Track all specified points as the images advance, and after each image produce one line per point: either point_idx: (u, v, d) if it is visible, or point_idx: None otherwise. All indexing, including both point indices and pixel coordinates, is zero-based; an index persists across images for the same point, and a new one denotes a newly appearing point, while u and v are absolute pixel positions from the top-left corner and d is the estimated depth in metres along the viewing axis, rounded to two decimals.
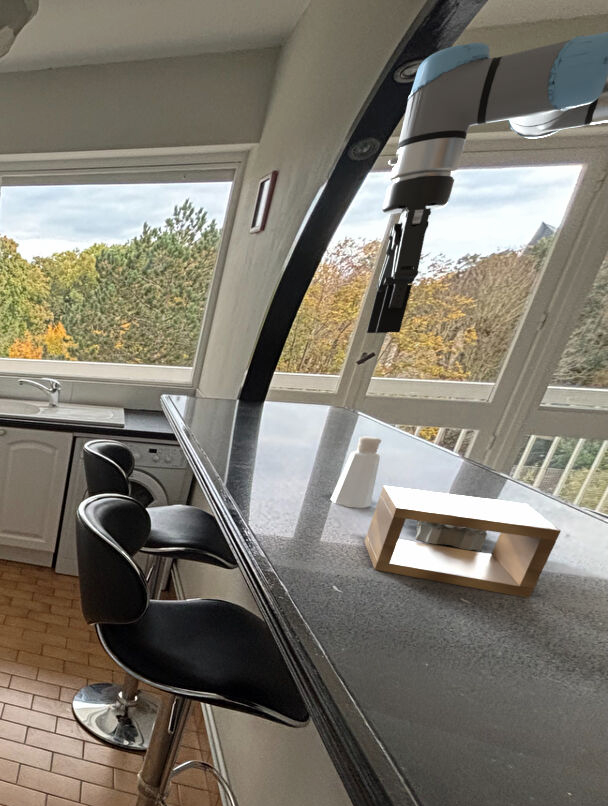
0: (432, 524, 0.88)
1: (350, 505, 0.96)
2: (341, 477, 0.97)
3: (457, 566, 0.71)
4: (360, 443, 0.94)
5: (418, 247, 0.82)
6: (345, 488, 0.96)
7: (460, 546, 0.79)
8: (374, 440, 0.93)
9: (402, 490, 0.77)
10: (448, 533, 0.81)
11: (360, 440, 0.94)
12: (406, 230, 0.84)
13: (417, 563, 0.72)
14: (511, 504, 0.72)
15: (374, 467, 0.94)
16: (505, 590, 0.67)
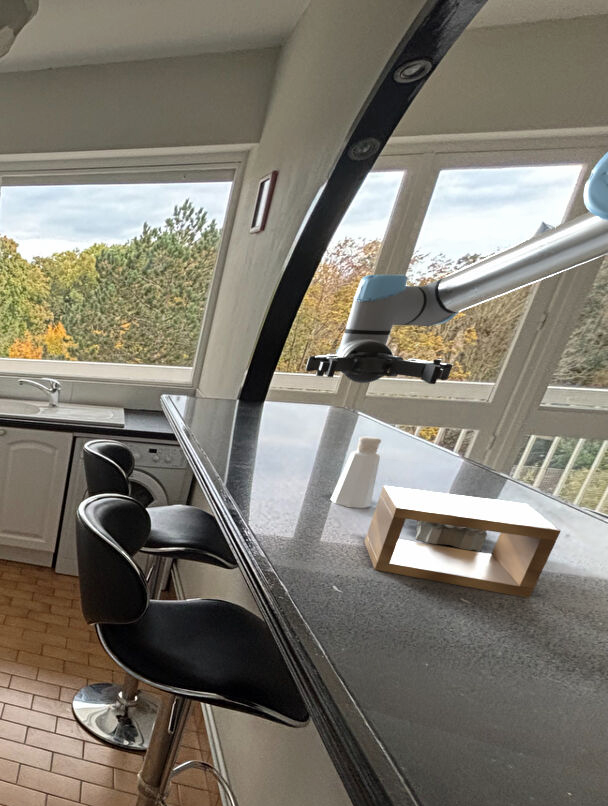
0: (432, 524, 0.88)
1: (350, 505, 0.96)
2: (341, 477, 0.97)
3: (457, 566, 0.71)
4: (360, 443, 0.94)
5: None
6: (345, 488, 0.96)
7: (460, 546, 0.79)
8: (374, 440, 0.93)
9: (402, 490, 0.77)
10: (448, 533, 0.81)
11: (360, 440, 0.94)
12: None
13: (417, 563, 0.72)
14: (511, 504, 0.72)
15: (374, 467, 0.94)
16: (505, 590, 0.67)
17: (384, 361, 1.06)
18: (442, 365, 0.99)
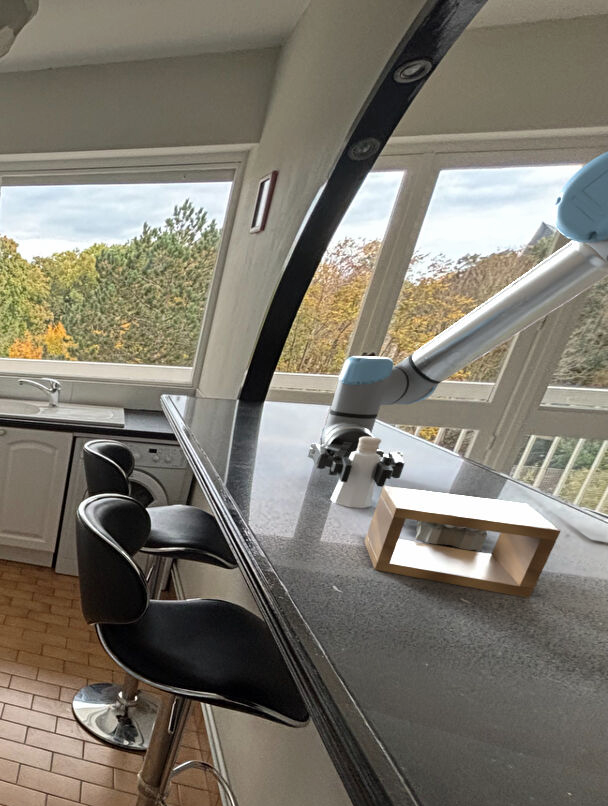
0: (432, 524, 0.88)
1: (350, 505, 0.96)
2: None
3: (457, 566, 0.71)
4: (360, 443, 0.94)
5: (317, 451, 1.03)
6: (345, 488, 0.96)
7: (460, 546, 0.79)
8: (374, 440, 0.93)
9: (402, 490, 0.77)
10: (448, 533, 0.81)
11: (360, 440, 0.94)
12: (313, 458, 1.06)
13: (417, 563, 0.72)
14: (511, 504, 0.72)
15: (374, 467, 0.94)
16: (505, 590, 0.67)
17: None
18: (394, 462, 0.95)
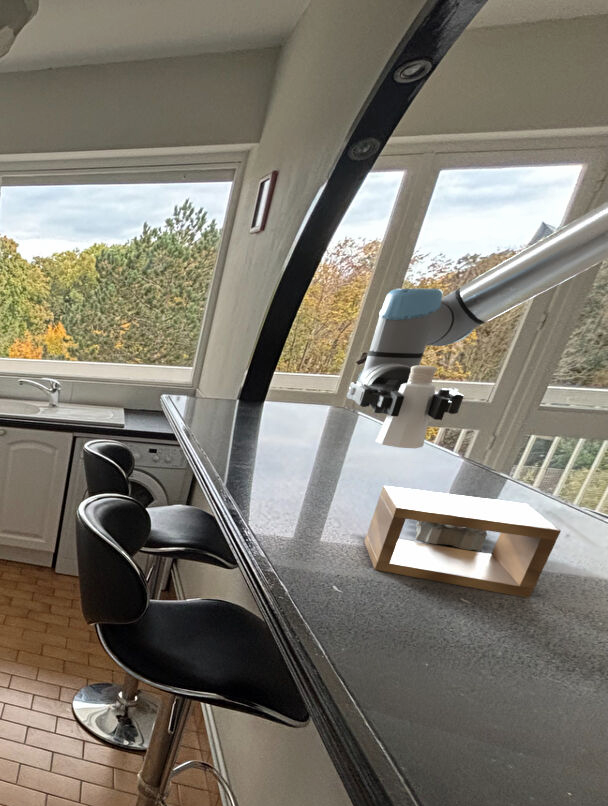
0: (432, 524, 0.88)
1: (400, 445, 0.84)
2: None
3: (457, 566, 0.71)
4: (412, 373, 0.82)
5: (359, 389, 0.91)
6: (394, 426, 0.84)
7: (460, 546, 0.79)
8: (429, 368, 0.81)
9: (402, 490, 0.77)
10: (448, 533, 0.81)
11: (412, 369, 0.82)
12: (353, 398, 0.94)
13: (417, 563, 0.72)
14: (511, 504, 0.72)
15: (429, 400, 0.82)
16: (505, 590, 0.67)
17: None
18: (451, 396, 0.83)
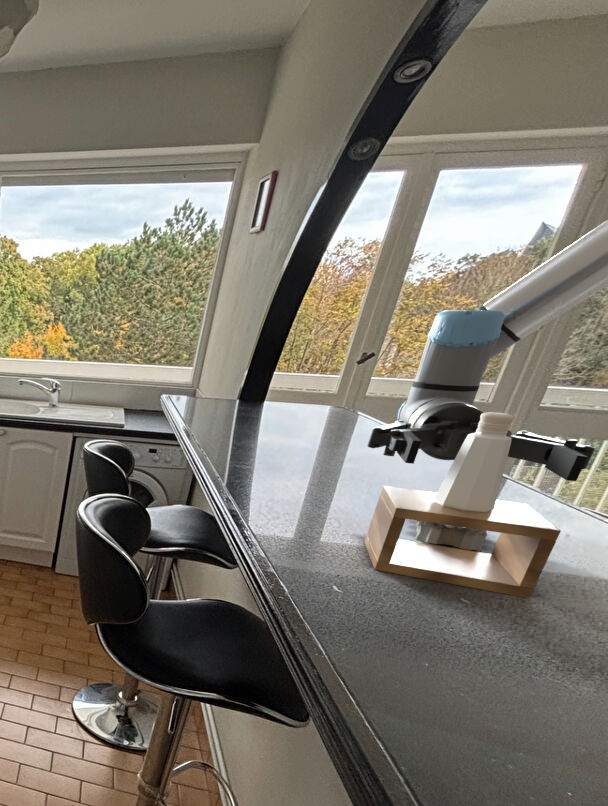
0: (432, 524, 0.88)
1: (466, 508, 0.69)
2: (451, 469, 0.70)
3: (457, 566, 0.71)
4: (483, 421, 0.67)
5: None
6: (459, 484, 0.69)
7: (460, 546, 0.79)
8: (506, 417, 0.66)
9: (402, 490, 0.77)
10: (448, 533, 0.81)
11: (483, 417, 0.67)
12: None
13: (417, 563, 0.72)
14: (511, 504, 0.72)
15: (504, 455, 0.67)
16: (505, 590, 0.67)
17: None
18: (578, 448, 0.68)
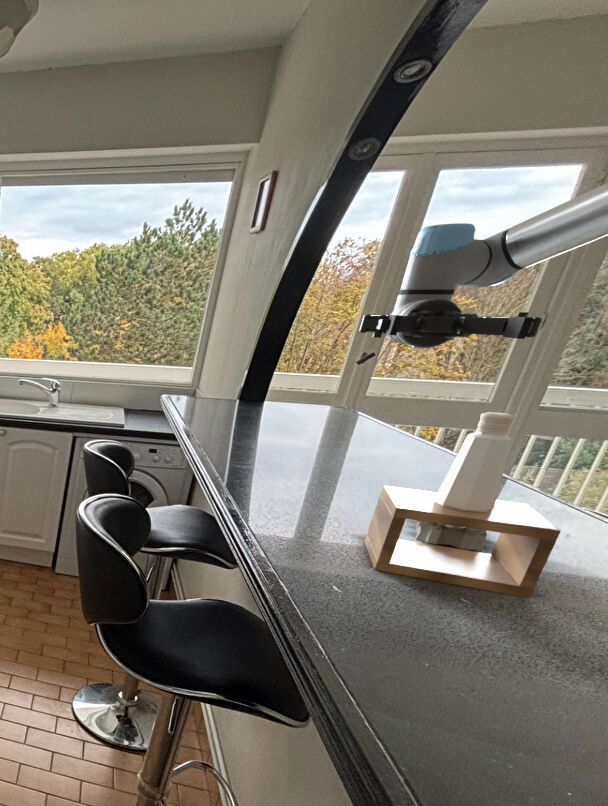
0: (432, 524, 0.88)
1: (466, 508, 0.69)
2: (451, 469, 0.70)
3: (457, 566, 0.71)
4: (483, 421, 0.67)
5: None
6: (459, 484, 0.69)
7: (460, 546, 0.79)
8: (506, 417, 0.66)
9: (402, 490, 0.77)
10: (448, 533, 0.81)
11: (483, 417, 0.67)
12: None
13: (417, 563, 0.72)
14: (511, 504, 0.72)
15: (504, 455, 0.67)
16: (505, 590, 0.67)
17: (454, 319, 0.90)
18: None
